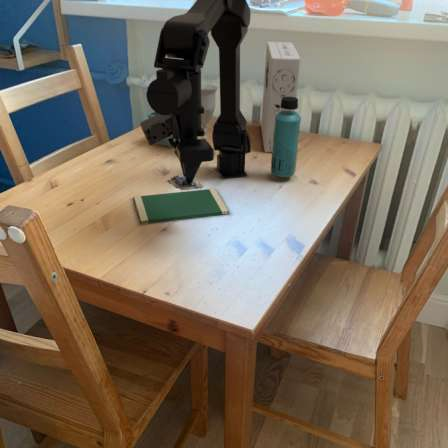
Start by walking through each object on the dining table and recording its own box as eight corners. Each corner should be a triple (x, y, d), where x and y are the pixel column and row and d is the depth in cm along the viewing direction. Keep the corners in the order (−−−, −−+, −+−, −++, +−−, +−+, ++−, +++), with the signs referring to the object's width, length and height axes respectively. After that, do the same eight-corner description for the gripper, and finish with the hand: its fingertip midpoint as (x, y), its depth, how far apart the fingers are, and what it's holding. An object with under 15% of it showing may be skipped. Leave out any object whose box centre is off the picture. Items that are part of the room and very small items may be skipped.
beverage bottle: (297, 174, 128) (306, 95, 115) (291, 184, 123) (300, 103, 110) (273, 170, 129) (280, 92, 117) (266, 180, 124) (273, 99, 112)
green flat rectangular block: (215, 191, 119) (215, 188, 118) (229, 214, 110) (229, 210, 109) (133, 199, 114) (133, 196, 114) (140, 224, 105) (140, 220, 104)
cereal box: (290, 153, 140) (301, 58, 124) (264, 152, 140) (271, 57, 124) (284, 128, 157) (292, 42, 141) (260, 127, 157) (266, 41, 141)
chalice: (197, 160, 134) (196, 92, 123) (187, 152, 138) (185, 85, 127) (221, 156, 136) (222, 89, 125) (210, 148, 141) (210, 82, 130)
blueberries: (180, 176, 103) (179, 168, 102) (212, 182, 99) (211, 173, 98) (161, 187, 98) (160, 177, 97) (193, 193, 94) (193, 183, 93)
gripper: (135, 87, 94) (141, 165, 103) (149, 118, 79) (155, 204, 89) (191, 85, 96) (192, 160, 106) (214, 114, 82) (214, 198, 92)
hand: (187, 179), depth 98 cm, fingers closed on blueberries, 2 cm apart
